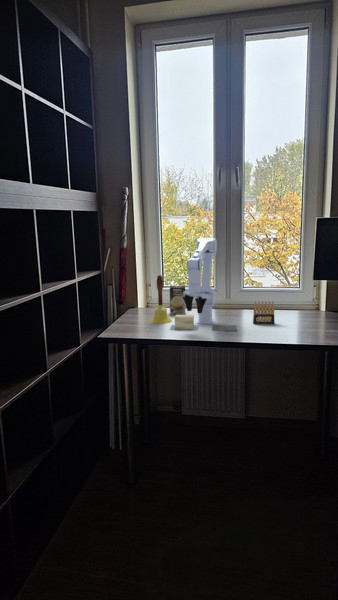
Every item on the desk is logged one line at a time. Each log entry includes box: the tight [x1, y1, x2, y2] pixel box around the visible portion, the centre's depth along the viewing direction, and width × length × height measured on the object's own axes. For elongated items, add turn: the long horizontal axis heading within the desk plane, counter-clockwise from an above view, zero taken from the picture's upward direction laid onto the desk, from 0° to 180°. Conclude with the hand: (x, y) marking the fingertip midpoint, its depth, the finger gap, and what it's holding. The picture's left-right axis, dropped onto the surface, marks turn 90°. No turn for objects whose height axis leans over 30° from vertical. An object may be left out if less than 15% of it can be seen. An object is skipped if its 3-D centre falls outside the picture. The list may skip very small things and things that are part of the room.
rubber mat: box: [211, 324, 238, 332], centre depth 205 cm, size 10×12×1 cm
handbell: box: [149, 274, 173, 325], centre depth 221 cm, size 12×12×25 cm
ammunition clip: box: [252, 300, 276, 325], centre depth 212 cm, size 11×2×12 cm, turn 86°
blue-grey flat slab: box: [169, 324, 200, 331], centre depth 208 cm, size 10×14×1 cm
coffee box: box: [169, 285, 186, 316], centre depth 239 cm, size 9×6×16 cm
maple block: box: [174, 314, 195, 329], centre depth 207 cm, size 5×9×6 cm, turn 82°
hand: (194, 312), depth 197 cm, fingers open, 7 cm apart
